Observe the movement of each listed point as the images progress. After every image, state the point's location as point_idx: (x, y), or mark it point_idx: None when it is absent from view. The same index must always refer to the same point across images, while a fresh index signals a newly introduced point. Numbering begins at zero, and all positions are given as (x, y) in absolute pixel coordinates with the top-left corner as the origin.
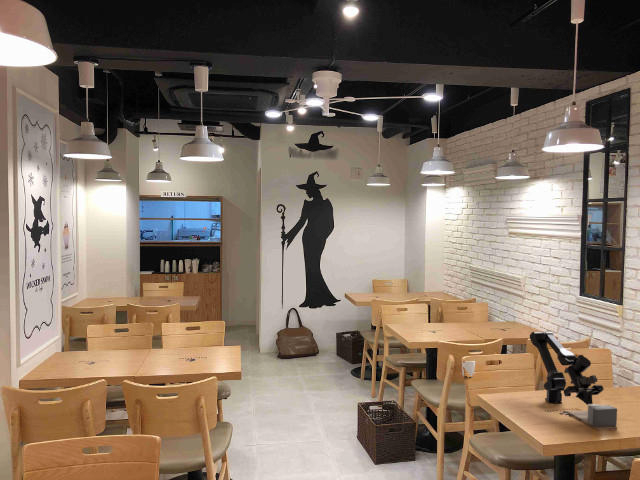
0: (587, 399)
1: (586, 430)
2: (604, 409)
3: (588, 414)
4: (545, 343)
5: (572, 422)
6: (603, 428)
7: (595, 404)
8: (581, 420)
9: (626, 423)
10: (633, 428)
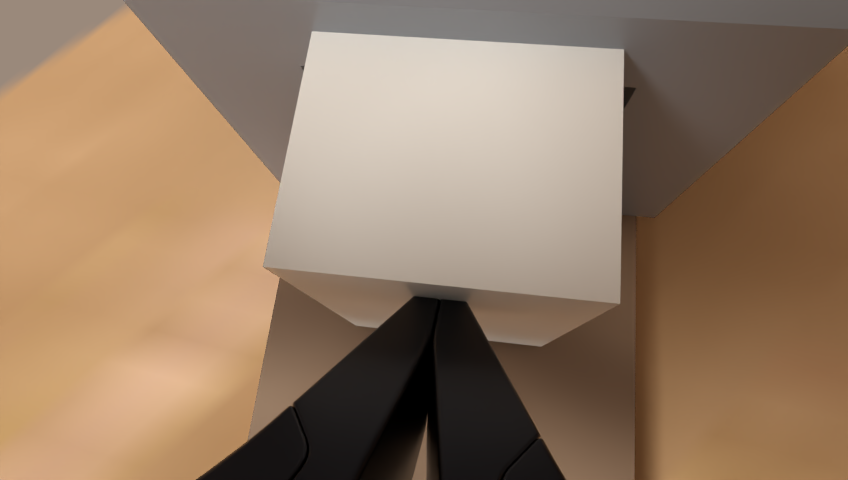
0: (538, 440)
1: (789, 98)
2: None
3: (723, 144)
4: None
5: (808, 395)
6: None
7: (386, 211)
8: (627, 382)
9: (22, 165)
10: (110, 29)
